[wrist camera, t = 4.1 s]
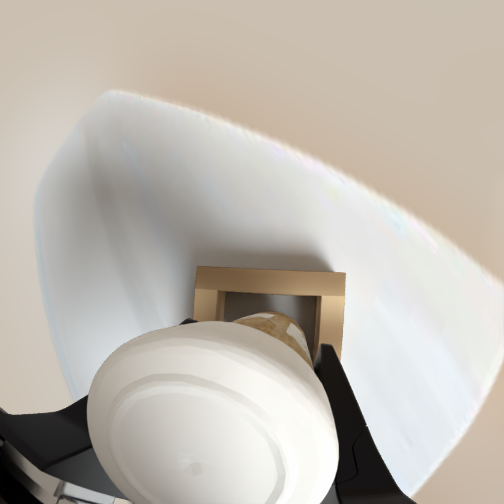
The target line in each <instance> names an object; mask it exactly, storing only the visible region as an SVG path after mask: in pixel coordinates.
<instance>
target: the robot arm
mask: <svg viewBox="0 0 504 504" xmlns="http://www.w3.org/2000/svg"><path fill="white" fill-rule="evenodd" d="M197 322H199V321H198V320H195V319H191V318H188V319H186V320H184V321H183V322H182V323H181V324H179V325H184V324H190V323H197ZM314 373H315V374H316V376H317V377H318V379H319V380H320V382H321V383H322V385H323V388H324V390H325V392H326V394H327V397H328V400H329V404H330V407H331V411H332V414H333V418H334V422H335V428H336V433H337V438H338V444H339V460H338V466H337V471H336V475H335V478H334V480H333V483H332V485H331V487H330V489H329V491H328V493H327V494H326V496H325V498H324V499H323V500H322V502H321V503H320V504H417V503H416V502H414V501H413V500H412V499H410V498H409V497H408V496H406V495H405V494H404V493H403V492H402V491H401V490H400V488H399V487H398V486H397V484H396V482H395V481H394V479H393V477H392V475H391V473H390V472H389V470H388V468H387V466H386V464H385V463H384V461H383V459H382V457H381V455H380V453H379V451H378V449H377V447H376V445H375V443H374V441H373V438H372V436H371V434H370V431H369V429H368V427H367V426H366V425H367V424H366V422H365V419H364V417H363V414H362V412H361V410H360V407H359V405H358V402H357V400H356V398H355V395H354V393H353V390H352V388H351V386H350V383H349V381H348V379H347V376H346V374H345V372H344V370H343V367H342V365H341V363H340V360H339V358H338V356H337V354H336V351H335V349H334V347H333V345H331V344H326V343H321V344H320V346H319V349H318V352H317V354H316V357H315V361H314ZM87 403H88V395H87V396H85V397H83V398H82V399H80V400H78V401H77V402H75V403H73V404H72V405H70V406H68V407H66V408H64V409H62V410H59V411H56V412H49V413H37V414H22V415H11V414H8V413H7V412H5V411H4V410H3V409H2V408H1V407H0V504H113V503H114V500H115V498H116V497H117V498H121V499H125V500H129V499H128V498H127V497H126V496H125V495H124V494H123V493H122V492H121V491H120V490H119V489H118V488H117V487H116V486H115V484H114V483H113V482H112V481H111V479H110V478H109V476H108V475H107V473H106V472H105V470H104V469H103V467H102V465H101V464H100V462H99V460H98V457H97V455H96V453H95V451H94V448H93V446H92V442H91V439H90V435H89V429H88V422H87ZM129 501H130V500H129Z"/></svg>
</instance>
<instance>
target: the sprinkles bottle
mask: <svg viewBox="0 0 504 504" xmlns="http://www.w3.org/2000/svg"><path fill="white" fill-rule="evenodd" d="M87 422H88V429H89V435H90V439H91V442H92V446H93V448H94V451H95V453H96V455H97V457H98V460H99V462H100V464H101V465H102V467H103V469H104V470H105V472H106V473H107V475H108V476H109V478H110V479H111V481H112V482H113V483H114V484H115V486H116V487H117V488H118V489H119V490H120V491H121V492H122V493H123V494H124V495H125V496H126V497H127V498H128V499H129V500H130V501H131V502H132V503H134V504H320V503H321V502H322V500H323V499H324V498H325V496H326V494H327V493H328V491H329V489H330V487H331V485H332V483H333V480H334V478H335V475H336V471H337V466H338V460H339V444H338V438H337V433H336V428H335V422H334V418H333V414H332V411H331V407H330V404H329V400H328V397H327V394H326V392H325V390H324V388H323V385H322V383H321V382H320V380H319V379H318V377H317V376H316V374H315V373H314V368H313V364H312V360H311V356H310V353H309V350H308V347H307V342H306V339H305V335H304V332H303V331H302V329H301V328H300V327H299V325H298V323H297V322H296V321H295V320H293V319H292V318H291V317H289V316H287V315H286V314H283V313H280V312H275V311H265V312H258V313H255V314H253V315H249V316H246V317H243V318H240V319H237V320H235V321H233V322H221V321H204V322H197V323H190V324H184V325H178V326H173V327H169V328H164V329H160V330H156V331H152V332H149V333H146V334H143V335H141V336H138V337H136V338H134V339H132V340H130V341H128V342H127V343H125V344H123V345H121V346H120V347H119V348H118V349H116V350H115V351H114V352H113V353H112V354H111V355H110V356H109V357H108V358H107V359H106V360H105V361H104V363H103V364H102V365H101V367H100V368H99V370H98V371H97V373H96V375H95V377H94V379H93V381H92V384H91V388H90V391H89V394H88V403H87Z"/></svg>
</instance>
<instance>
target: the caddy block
mask: <svg viewBox="0 0 504 504" xmlns="http://www.w3.org/2000/svg"><path fill="white" fill-rule="evenodd" d="M345 278H346V273H342V272H314V271H289V270H267V269H246V268H227V267H208V266H197V271H196V284H195V297H194V312H193V319H195V320H198V321H199V322H204V321H221V322H224V310H225V295H226V292H236V293H253V294H271V295H292V296H317V303H316V321H315V335H314V348H313V360H312V364H313V368H314V361H315V357H316V354H317V352H318V349H319V346H320V344H321V343H326V344H331V345H333V347H334V349H335V351H336V354H337V356H338V358H339V360H340V359H341V349H342V337H343V323H344V305H345Z"/></svg>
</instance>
